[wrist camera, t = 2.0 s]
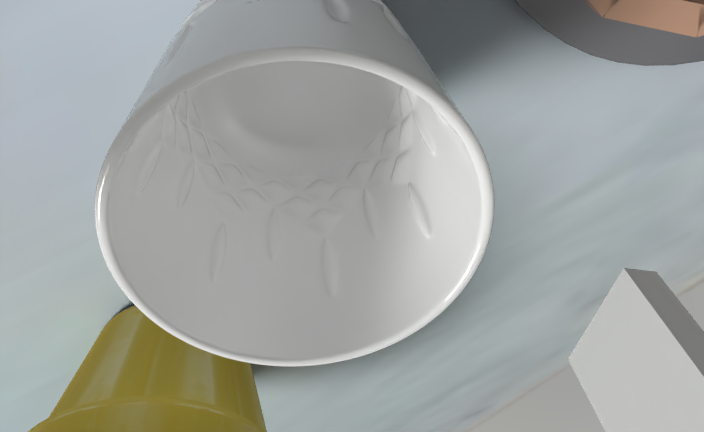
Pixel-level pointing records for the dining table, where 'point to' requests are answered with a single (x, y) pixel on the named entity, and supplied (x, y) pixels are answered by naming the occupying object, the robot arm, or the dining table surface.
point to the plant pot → (155, 386)
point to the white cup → (293, 185)
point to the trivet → (626, 28)
